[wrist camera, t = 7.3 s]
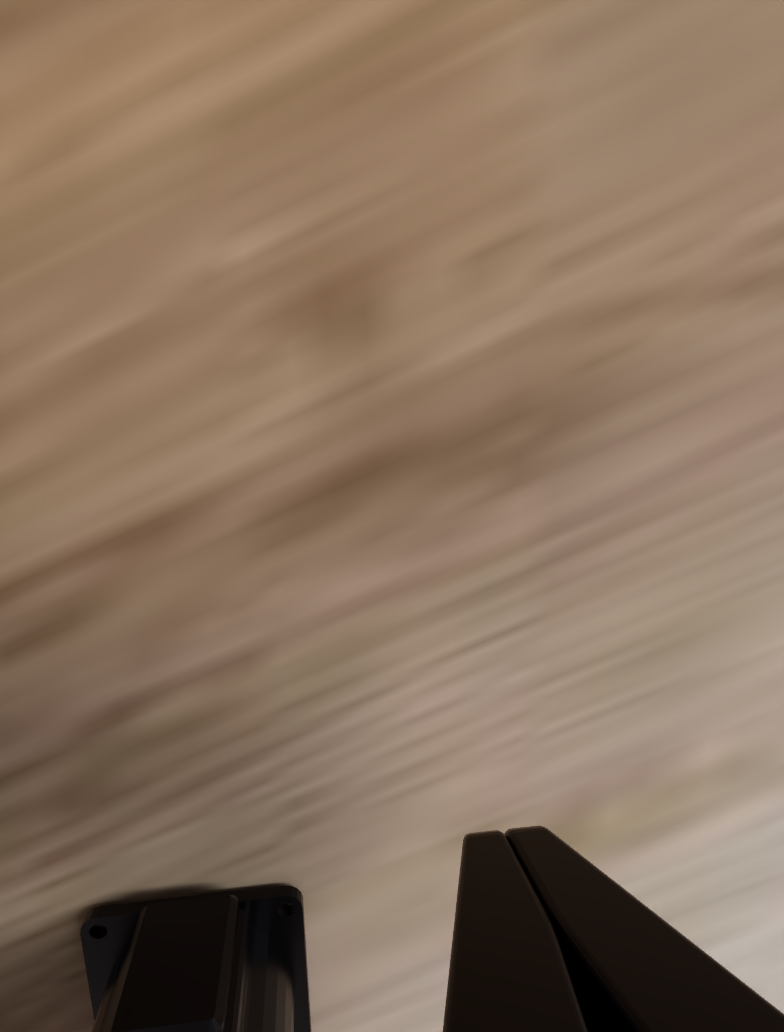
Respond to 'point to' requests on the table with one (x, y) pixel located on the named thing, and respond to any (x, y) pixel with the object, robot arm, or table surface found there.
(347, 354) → the table surface
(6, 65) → the table surface
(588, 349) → the table surface
